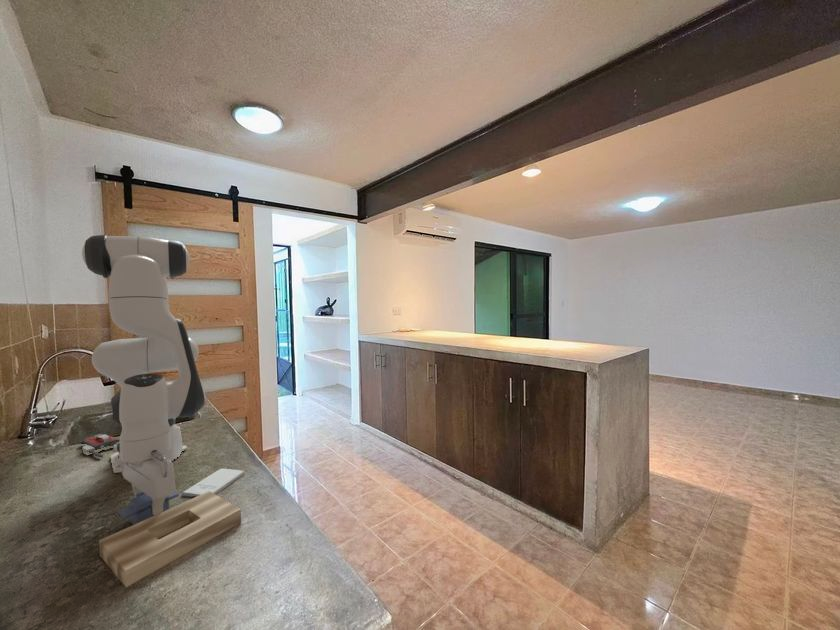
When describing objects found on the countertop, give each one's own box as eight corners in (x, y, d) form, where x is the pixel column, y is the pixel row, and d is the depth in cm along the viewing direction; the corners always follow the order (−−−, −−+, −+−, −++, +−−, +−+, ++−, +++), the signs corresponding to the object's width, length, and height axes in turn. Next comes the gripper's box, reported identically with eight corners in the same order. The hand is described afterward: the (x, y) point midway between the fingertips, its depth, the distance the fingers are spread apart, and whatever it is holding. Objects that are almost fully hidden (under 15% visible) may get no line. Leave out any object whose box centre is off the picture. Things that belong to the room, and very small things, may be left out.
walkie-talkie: (71, 450, 113) (97, 462, 104) (71, 437, 113) (96, 448, 104) (105, 440, 121) (131, 451, 112) (104, 428, 121) (130, 438, 112)
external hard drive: (244, 476, 95) (208, 501, 83) (220, 473, 97) (181, 497, 84) (244, 470, 95) (208, 495, 83) (220, 468, 97) (181, 491, 84)
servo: (118, 526, 73) (117, 501, 73) (171, 503, 81) (170, 480, 81) (125, 533, 71) (124, 507, 70) (179, 508, 79) (178, 485, 79)
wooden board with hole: (99, 555, 64) (99, 540, 64) (209, 502, 81) (209, 490, 81) (126, 587, 57) (125, 570, 57) (241, 522, 74) (240, 509, 74)
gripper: (182, 451, 72) (185, 513, 72) (146, 433, 83) (148, 487, 83) (147, 462, 67) (149, 529, 67) (113, 442, 78) (115, 500, 78)
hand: (148, 506), depth 75 cm, fingers open, 8 cm apart
